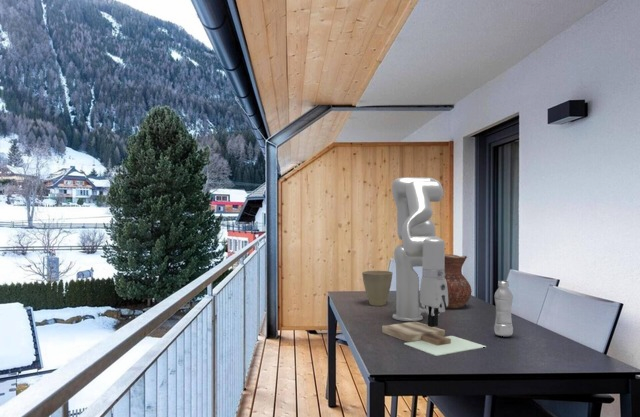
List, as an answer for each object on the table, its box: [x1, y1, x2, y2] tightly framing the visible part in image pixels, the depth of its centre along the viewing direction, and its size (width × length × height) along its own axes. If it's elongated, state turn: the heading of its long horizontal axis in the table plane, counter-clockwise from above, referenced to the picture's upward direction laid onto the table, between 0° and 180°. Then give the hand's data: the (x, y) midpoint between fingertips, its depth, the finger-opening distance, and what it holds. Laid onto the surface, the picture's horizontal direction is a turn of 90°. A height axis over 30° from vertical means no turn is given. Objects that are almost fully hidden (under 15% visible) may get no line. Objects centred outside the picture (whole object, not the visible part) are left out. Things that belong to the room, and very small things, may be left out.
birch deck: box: [381, 321, 446, 343], centre depth 177 cm, size 16×16×2 cm
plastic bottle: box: [493, 280, 514, 338], centre depth 175 cm, size 6×7×20 cm
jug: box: [444, 253, 472, 309], centre depth 233 cm, size 22×21×25 cm
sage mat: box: [403, 335, 487, 357], centre depth 162 cm, size 22×16×1 cm
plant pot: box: [361, 270, 393, 307], centre depth 236 cm, size 15×15×16 cm
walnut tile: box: [421, 334, 451, 346], centre depth 166 cm, size 6×8×2 cm
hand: (432, 326), depth 168 cm, fingers closed
